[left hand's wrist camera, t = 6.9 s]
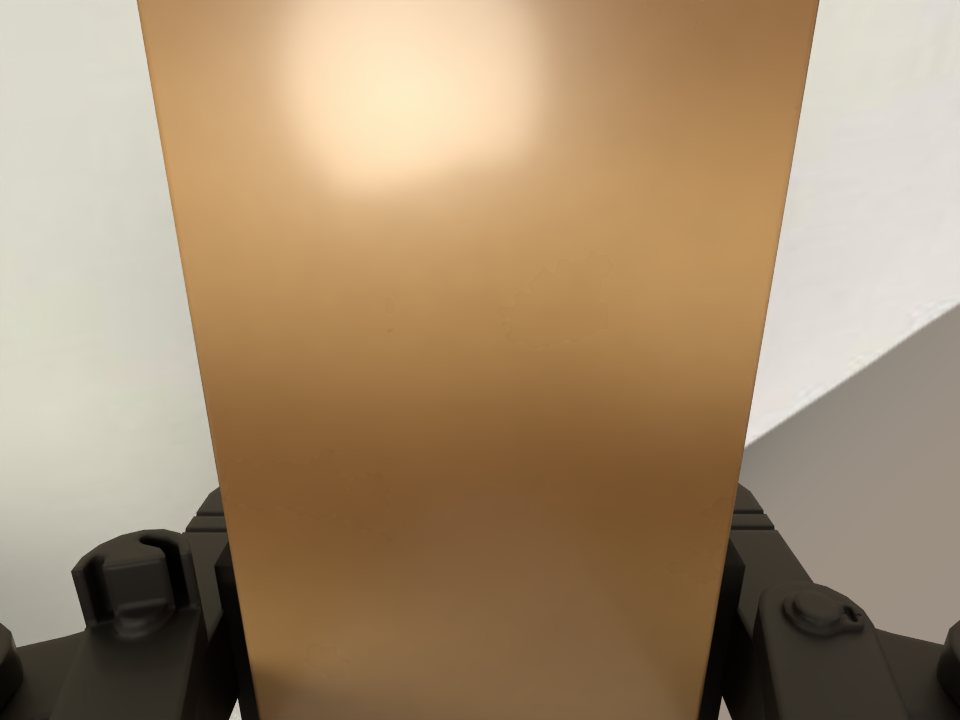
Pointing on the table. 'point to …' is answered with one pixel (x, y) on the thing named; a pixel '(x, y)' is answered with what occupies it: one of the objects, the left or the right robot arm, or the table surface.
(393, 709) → the post
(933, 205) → the table surface
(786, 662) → the left robot arm
